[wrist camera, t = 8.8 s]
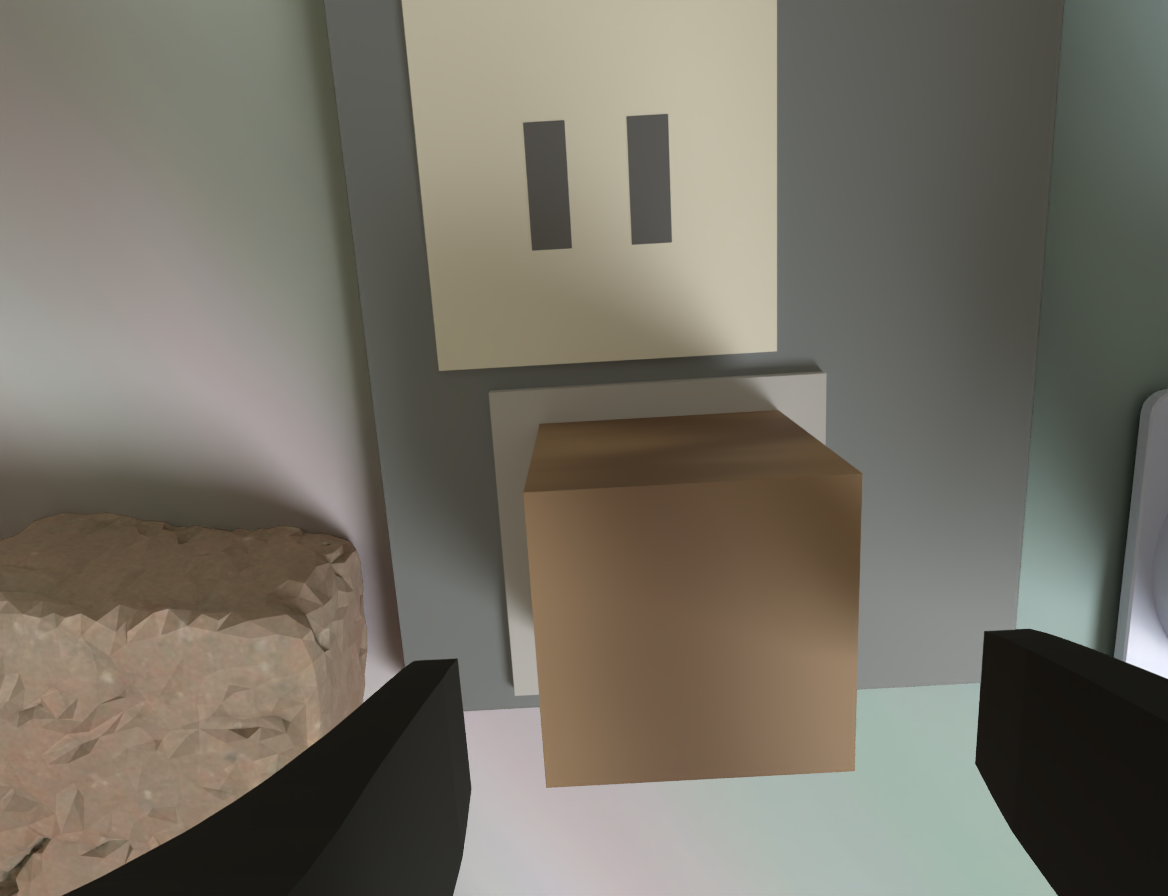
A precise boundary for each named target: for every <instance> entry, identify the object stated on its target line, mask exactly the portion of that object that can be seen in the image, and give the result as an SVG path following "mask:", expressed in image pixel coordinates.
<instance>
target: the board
mask: <svg viewBox="0 0 1168 896" xmlns="http://www.w3.org/2000/svg"><path fill="white" fill-rule="evenodd" d="M324 6H325V14H326V22H327V31H328V39H329V47H330V55H331V63H332V72H333V80H334V88H335V96H336V105H337V113H338V121H339V129H340V137H341V146H342V154H343V162H344V170H345V179H346V187H347V195H348V203H349V211H350V220H351V228H352V236H353V244H354V253H355V261H356V269H357V277H358V285H359V294H360V302H361V310H362V318H363V327H364V335H365V343H366V351H367V359H368V368H369V376H370V384H371V392H372V401H373V409H374V417H375V425H376V433H377V442H378V450H379V458H380V466H381V475H382V483H383V491H384V499H385V507H386V516H387V524H388V532H389V540H390V549H391V557H392V565H393V573H394V581H395V590H396V598H397V606H398V614H399V623H400V631H401V639H402V647H403V655H404V664H405V667H406V666H407V665H409V664H410V663H411V662H413V661H418V660H437V659H456V658H458V665H459V675H460V685H461V694H462V704H463V711H477V710H495V709H513V708H532V707H540V701H539V695H523V696H515V692H514V680H513V669H512V657H511V646H510V634H509V622H508V611H507V599H506V588H505V576H504V565H503V553H502V542H501V530H500V518H499V507H498V495H497V484H496V472H495V461H494V449H493V437H492V426H491V414H490V403H489V392H490V390H507V389H525V388H542V387H559V386H576V385H594V384H611V383H628V382H646V381H663V380H680V379H698V378H715V377H732V376H749V375H767V374H784V373H801V372H819V371H823V372H825V373H827V379H826V446H827V447H828V448H829V449H831V450H832V451H833V452H835V453H836V454H837V455H839V456H840V457H841V458H843V459H844V460H845V461H847V462H848V463H849V464H851V465H852V466H853V467H855V468H856V469H857V470H859V471H860V472H861V473H863V476H862V513H861V550H860V587H859V625H858V662H857V690H859V689H877V688H895V687H913V686H931V685H949V684H968V683H981V671H982V656H983V641H984V631H996V630H1016V620H1017V607H1018V594H1019V581H1020V568H1021V555H1022V542H1023V529H1024V516H1025V503H1026V490H1027V477H1028V464H1029V451H1030V439H1031V426H1032V413H1033V400H1034V387H1035V374H1036V361H1037V348H1038V335H1039V322H1040V309H1041V296H1042V283H1043V270H1044V257H1045V244H1046V231H1047V218H1048V205H1049V192H1050V179H1051V166H1052V153H1053V140H1054V127H1055V114H1056V101H1057V88H1058V75H1059V62H1060V49H1061V36H1062V23H1063V10H1064V0H324Z"/></svg>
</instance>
